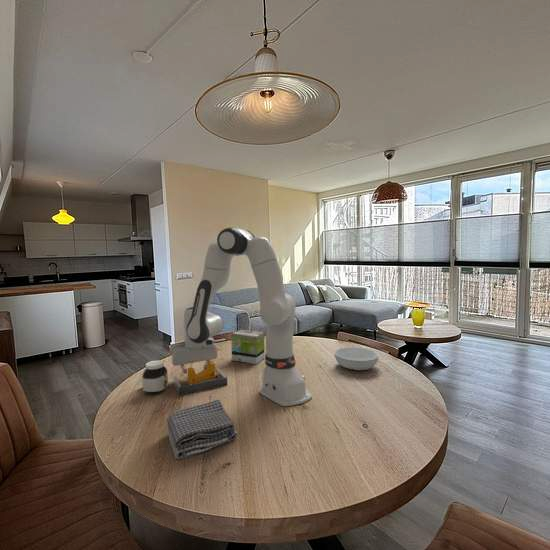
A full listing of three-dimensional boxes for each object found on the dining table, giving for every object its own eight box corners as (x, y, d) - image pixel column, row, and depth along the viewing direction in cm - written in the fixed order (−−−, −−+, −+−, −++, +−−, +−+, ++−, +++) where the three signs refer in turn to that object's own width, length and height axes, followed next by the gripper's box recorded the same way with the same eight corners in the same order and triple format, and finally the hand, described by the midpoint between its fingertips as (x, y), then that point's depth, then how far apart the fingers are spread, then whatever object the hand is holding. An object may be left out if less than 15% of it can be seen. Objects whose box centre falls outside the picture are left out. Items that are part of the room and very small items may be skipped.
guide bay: (227, 384, 127) (227, 377, 127) (179, 395, 118) (178, 388, 118) (218, 374, 139) (217, 368, 138) (173, 383, 129) (173, 376, 129)
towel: (165, 435, 92) (164, 410, 92) (222, 418, 101) (221, 396, 101) (175, 464, 79) (174, 436, 79) (239, 442, 88) (239, 416, 88)
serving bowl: (387, 368, 143) (387, 354, 143) (358, 379, 132) (358, 364, 131) (353, 356, 160) (353, 344, 160) (325, 365, 149) (325, 351, 148)
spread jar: (157, 397, 117) (155, 368, 116) (131, 394, 119) (130, 366, 118) (173, 384, 128) (172, 357, 128) (149, 382, 131) (148, 356, 130)
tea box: (231, 361, 156) (230, 333, 155) (240, 355, 165) (240, 329, 164) (256, 364, 150) (256, 336, 149) (265, 358, 160) (264, 331, 159)
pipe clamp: (210, 374, 139) (209, 360, 139) (215, 376, 136) (214, 363, 135) (186, 381, 131) (185, 367, 131) (190, 384, 128) (190, 370, 127)
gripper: (171, 346, 128) (173, 378, 129) (218, 340, 137) (218, 369, 138) (169, 343, 133) (170, 373, 134) (214, 336, 143) (214, 364, 144)
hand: (195, 371), depth 136 cm, fingers open, 8 cm apart
